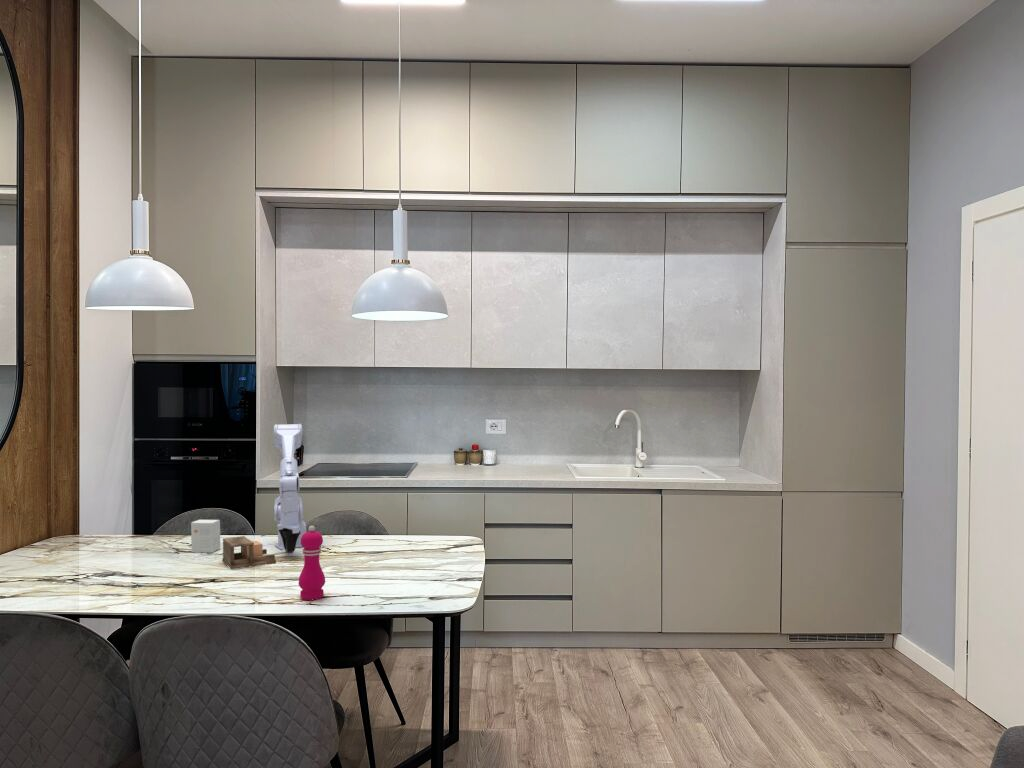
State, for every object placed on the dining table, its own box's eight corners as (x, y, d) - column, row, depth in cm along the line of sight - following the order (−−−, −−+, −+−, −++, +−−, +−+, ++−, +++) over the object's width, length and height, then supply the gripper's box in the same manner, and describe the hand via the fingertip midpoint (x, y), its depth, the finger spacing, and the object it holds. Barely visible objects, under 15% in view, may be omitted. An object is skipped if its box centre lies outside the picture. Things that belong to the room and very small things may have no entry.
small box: (220, 549, 266) (220, 519, 266) (213, 553, 261) (212, 522, 261) (199, 548, 267) (199, 519, 267) (191, 552, 261) (190, 522, 261)
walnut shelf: (265, 555, 257) (264, 533, 257) (275, 563, 247) (275, 540, 247) (222, 561, 249) (222, 538, 249) (231, 569, 239) (231, 545, 239)
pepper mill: (301, 593, 213) (301, 523, 213) (327, 593, 213) (327, 522, 213) (296, 601, 206) (295, 528, 205) (323, 600, 206) (322, 528, 206)
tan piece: (288, 551, 258) (288, 536, 258) (294, 554, 253) (294, 539, 253) (242, 557, 249) (241, 542, 249) (246, 561, 244) (246, 545, 244)
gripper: (271, 508, 259) (271, 548, 259) (284, 515, 247) (284, 556, 247) (291, 506, 263) (291, 545, 263) (305, 513, 251) (305, 553, 251)
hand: (289, 550), depth 255 cm, fingers closed on tan piece, 2 cm apart
